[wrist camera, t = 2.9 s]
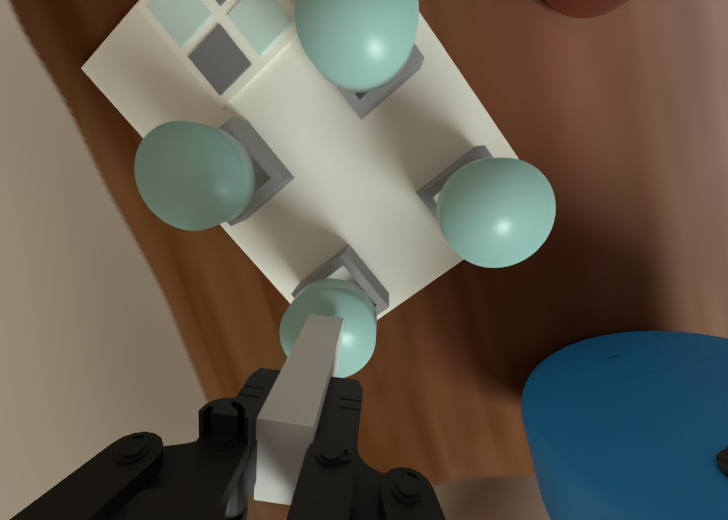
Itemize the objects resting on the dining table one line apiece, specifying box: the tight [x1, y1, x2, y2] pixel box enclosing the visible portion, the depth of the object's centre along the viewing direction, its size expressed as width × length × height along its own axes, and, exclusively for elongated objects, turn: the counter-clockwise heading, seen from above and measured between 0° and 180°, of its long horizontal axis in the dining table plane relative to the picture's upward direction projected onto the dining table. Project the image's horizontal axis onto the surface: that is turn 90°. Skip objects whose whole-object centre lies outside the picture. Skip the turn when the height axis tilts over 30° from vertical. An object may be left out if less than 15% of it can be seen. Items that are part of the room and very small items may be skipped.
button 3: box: [436, 158, 556, 268], centre depth 16 cm, size 4×4×4 cm
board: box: [81, 0, 518, 320], centre depth 19 cm, size 16×22×3 cm
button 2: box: [134, 121, 255, 231], centre depth 17 cm, size 4×4×4 cm
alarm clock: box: [521, 331, 728, 520], centre depth 16 cm, size 13×6×15 cm, turn 108°
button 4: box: [280, 278, 377, 378], centre depth 18 cm, size 4×4×4 cm
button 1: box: [295, 0, 419, 93], centre depth 15 cm, size 4×4×4 cm
